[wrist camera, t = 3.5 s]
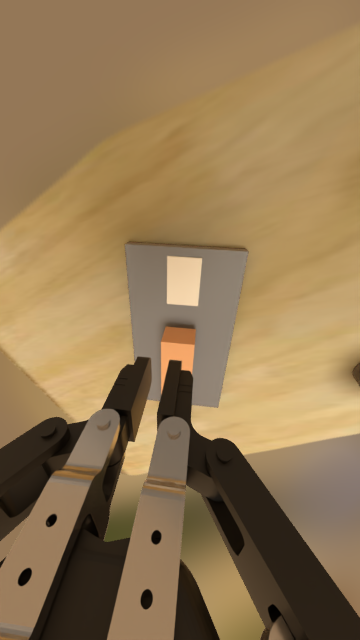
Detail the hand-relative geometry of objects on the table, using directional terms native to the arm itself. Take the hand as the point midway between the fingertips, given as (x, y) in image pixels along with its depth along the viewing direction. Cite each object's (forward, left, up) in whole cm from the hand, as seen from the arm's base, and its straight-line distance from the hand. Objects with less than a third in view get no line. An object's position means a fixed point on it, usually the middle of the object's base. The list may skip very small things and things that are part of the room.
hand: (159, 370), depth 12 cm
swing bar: (+16, 0, -15) cm, 22 cm away
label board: (+11, 0, -17) cm, 20 cm away
